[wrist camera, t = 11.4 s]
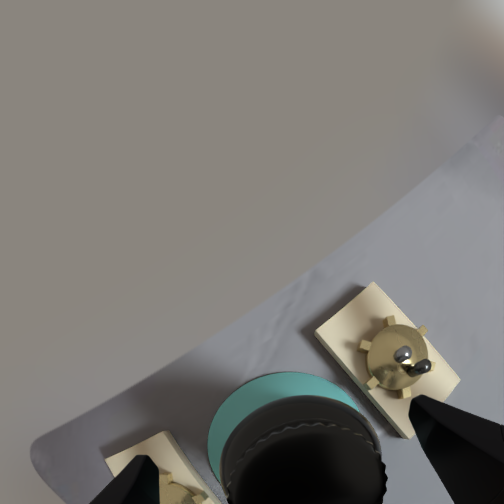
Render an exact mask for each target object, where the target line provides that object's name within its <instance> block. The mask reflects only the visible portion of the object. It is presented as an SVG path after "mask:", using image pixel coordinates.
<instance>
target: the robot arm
mask: <svg viewBox="0 0 504 504" xmlns="http://www.w3.org/2000/svg"><path fill="white" fill-rule="evenodd" d="M408 417H409V420H410V422H411V424H412V427H413V429H414V431H415V433H416V435H417V438H418V440H419V442H420V444H421V447H422V449H423V451H424V453H425V454H426V456H427V458H428V459H429V461H430V463H431V464H432V466H433V468H434V469H435V471H436V473H437V474H438V476H439V478H440V479H441V481H442V483H443V484H444V486H445V488H446V490H447V491H448V493H449V495H450V497H451V498H452V500H453V502H454V504H504V425H500V424H498V423H495V422H493V421H490V420H487V419H484V418H481V417H479V416H476V415H473V414H471V413H468V412H466V411H463V410H460V409H458V408H455V407H453V406H450V405H448V404H445V403H443V402H440V401H438V400H436V399H433V398H431V397H428V396H426V395H423V394H420V395H418V396H416V397H414V398H412V399H411V402H410V407H409V412H408ZM89 504H160V488H159V469H158V467H157V465H156V464H155V463H154V462H153V460H152V459H151V458H150V456H148V455H141V454H139V455H136V456H135V457H134V458H133V459H132V460H131V461H130V462H129V463H128V464H127V465H126V466H125V467H124V469H123V470H122V471H121V472H120V473H119V474H118V475H117V476H116V477H115V478H114V479H113V480H112V481H111V482H110V483H109V484H108V485H107V486H106V487H105V488H104V489H103V490H102V491H101V492H100V493H99V494H98V495H97V496H96V497H95V498H94V499H93V500H92V501H91V502H90V503H89Z"/></svg>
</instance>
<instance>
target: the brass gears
mask: <svg viewBox="0 0 504 504" xmlns="http://www.w3.org/2000/svg"><path fill="white" fill-rule="evenodd" d="M382 322H383V326H384V329H383V330H382V331H380V332H379V333H378V334H377V335H376V336H375V337H374V338H373V339H372V340H371V342H368V341H365V340H362V341H361V342H359V344H358V347H357V350H356V351H358V352H361V353H364V354H365V366H366V370H367V373H368V375H369V377H370V378H369V379H368V380H367V381H366V382H365V383H364V384H363V386H364V387H365V388H366V389H367V391H369V390H372V389H373V388H374V387H375V386H376V385H377V386H379V387H381V388H383V389H386V390H397V394H398V400H399V399H404V398H407V397H410V396H412V395H411V390H410V387H409V386H411V385H413V384H414V383H416V382H417V381H418V380H419V379H420V378H421V376H422V375H423V374H424V373H429V372H431V371H434V368H435V364H436V362H432V361H430V360H429V359H428V350H427V346H426V343H425V341H424V339H423V336H424V335H425V333H426V332H427V331H428V330H427V329H426V327H425V326H424V325H422V326H421V327H419V328H418V329H417V330H415V329H414V328H412V327H410V326H407V325H402V324H396V321H395V317H394V315H392V316H387V317H386V318H385V319H384V320H383V321H382ZM399 389H400V390H399ZM159 488H160V504H202V502H203V501H205V500H206V499H207V498H208V497H209V496H208V495H207V494H206V492H205V491H201V492H199V493H197V494H195V493H194V492H193V491H191V490H190V489H189V488H187V487H185V486H183V485H181V484H179V483H176V482H173V476H172V473H166V472H164V473H161V474H159Z"/></svg>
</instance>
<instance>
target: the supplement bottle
mask: <svg viewBox="0 0 504 504" xmlns="http://www.w3.org/2000/svg"><path fill="white" fill-rule="evenodd" d="M385 469H386V465H385V464H384V463H383V462H382V452H381V446H380V442H379V439H378V436H377V434H376V432H375V430H374V428H373V427H372V425H371V424H370V422H369V421H368V420H367V419H366V418H365V417H364V416H363V415H362V414H361V413H360V412H358V411H357V410H356V409H354V408H353V407H351V406H349V405H348V404H346V403H343V402H341V401H338V400H336V399H332V398H329V397H324V396H318V395H296V396H290V397H285V398H281V399H278V400H275V401H272V402H269V403H267V404H265V405H263V406H261V407H259V408H257V409H256V410H254V411H253V412H251V413H250V414H249V415H248V416H246V417H245V418H244V419H243V420H242V421H241V422H240V423H239V424H238V425H237V426H236V427H235V428H234V430H233V431H232V432H231V434H230V435H229V437H228V439H227V440H226V442H225V445H224V447H223V450H222V453H221V457H220V464H219V475H220V482H221V485H222V489H223V491H224V494H225V496H226V497H227V501H228V503H229V504H382V503H383V496H384V494H385V493H386V491H387V488H386V482H387V479H388V477H387V475H386V474H385Z"/></svg>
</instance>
